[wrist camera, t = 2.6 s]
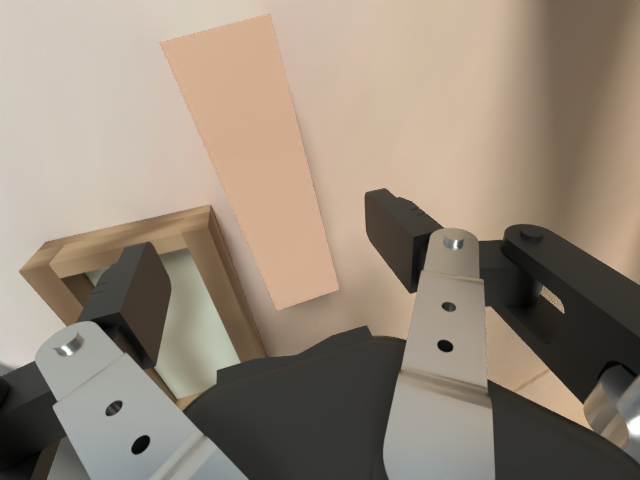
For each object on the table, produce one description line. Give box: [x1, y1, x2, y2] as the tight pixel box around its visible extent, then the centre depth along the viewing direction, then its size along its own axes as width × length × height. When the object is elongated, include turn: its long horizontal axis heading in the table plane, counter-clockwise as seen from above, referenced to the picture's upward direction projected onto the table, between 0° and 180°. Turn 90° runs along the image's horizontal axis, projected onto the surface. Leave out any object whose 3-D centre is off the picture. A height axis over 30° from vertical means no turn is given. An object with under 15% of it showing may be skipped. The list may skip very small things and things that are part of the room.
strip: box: [160, 14, 339, 311], centre depth 17 cm, size 4×14×6 cm, turn 13°
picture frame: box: [19, 205, 267, 411], centre depth 23 cm, size 10×18×3 cm, turn 8°
